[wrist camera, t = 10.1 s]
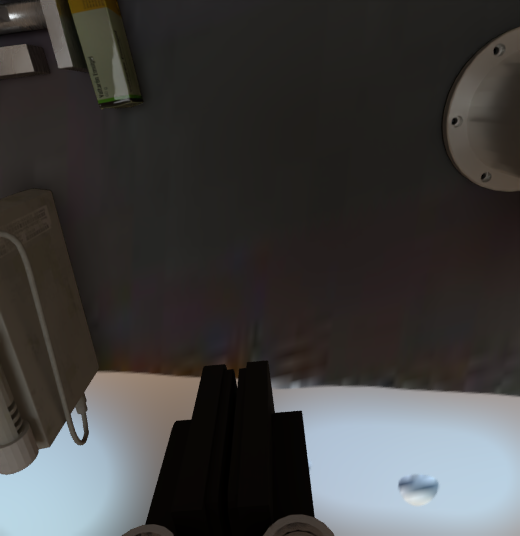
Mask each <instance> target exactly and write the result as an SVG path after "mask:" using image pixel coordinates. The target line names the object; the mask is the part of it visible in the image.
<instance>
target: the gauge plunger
mask: <svg viewBox="0 0 520 536" xmlns="http://www.w3.org/2000/svg"><path fill="white" fill-rule="evenodd" d="M44 28H48V31H49V35H50V39H51V42H52V46H53V49H54V53H55V56H56V60H57V64H58V67H59V69H66V70H73V71H80V72H89V71H88V67H87V64H86V60H85V57H84V54H83V50H82V47H81V43H80V40H79V37H78V33H77V30H76V27H75V23H74V20H73V17H72V13H71V10H70V7H69V3H68V0H27V1H20V2H13V3H6V4H0V35H1V34H8V33H15V32H22V31H29V30H37V29H44Z"/></svg>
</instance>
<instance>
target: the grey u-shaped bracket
mask: <svg viewBox="0 0 520 536" xmlns="http://www.w3.org/2000/svg"><path fill="white" fill-rule="evenodd" d="M47 73H50V71H49V68H48V64H47V61H46V57H45V54H44V50H43V48H42V47H37V46H33V45H28V44H22V45H14V46H7V47H0V80H2V79H10V78H17V77H25V76H32V75H40V74H47Z"/></svg>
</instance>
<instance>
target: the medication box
mask: <svg viewBox="0 0 520 536" xmlns="http://www.w3.org/2000/svg"><path fill="white" fill-rule="evenodd" d="M68 3H69V7H70V10H71V13H72V17H73V20H74V23H75V27H76V30H77V33H78V37H79V40H80V43H81V47H82V50H83V54H84V57H85V60H86V64H87V67H88V71H89V74H90V77H91V81H92V84H93V87H94V91H95V94H96V97H97V100H98V103H99V106H100V108H101V109H104V108H128V107H133V106H136V105H139V104H141V103H143V100H142V96H141V92H140V88H139V84H138V80H137V76H136V72H135V68H134V64H133V60H132V56H131V52H130V48H129V44H128V40H127V37H126V33H125V29H124V25H123V21H122V17H121V14H120V10H119V6H118V2H117V0H68Z"/></svg>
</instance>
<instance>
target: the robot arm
mask: <svg viewBox="0 0 520 536" xmlns="http://www.w3.org/2000/svg"><path fill="white" fill-rule="evenodd" d="M494 48H495V49H496V53H495V54H494V52H493V50H494ZM453 118H455V123H454V124H452V119H453ZM442 128H443V141H444V144H445V148H446V151H447V154H448V156H449V158H450V160H451V162H452V163H453V165H454V167H455V168H456V169H457V170H458V171H459V172H460V173H461V174H462V175H463V176H464V177H465V178H467V179H468V180H470V181H471V182H473V183H475V184H477V185H479V186H482V187H484V188H488V189H491V190H495V191H505V192H513V191H520V27H517V28H514V29H512V30H509V31H507V32H505V33H503V34H501V35H499V36H498V37H496V38H494V39H492V40H491V41H490V42H488V43H487V44H486V45H485V46H483V47H482V48H481V49H480V50H478V51H477V52H476V53H475V55H474V56H473V57H472V58H471V59H470V60H469V61H468V62H467V63H466V64H465V66H464V67H463V69H462V70H461V72H460V73H459V75H458V76H457V78H456V79H455V82H454V84H453V86H452V88H451V90H450V92H449V94H448V98H447V101H446V105H445V108H444V115H443V124H442ZM482 174H483V177H482V178H481V176H482ZM122 536H334V534H333V532H332V531H331V530H330V529H329V528H328V527H327V526H326V525H325V524H324V523H323V522H321V521H319V520H318V519H316V518H315V517H314V508H313V500H312V492H311V484H310V475H309V467H308V458H307V450H306V442H305V433H304V425H303V417H302V411H293V412H280V413H275V411H274V403H273V396H272V387H271V379H270V372H269V364H268V361H257V362H247V368H242V369H239V377H238V387H237V384H236V378H235V373H234V370H233V369H231V370H227V368H226V365H225V364H223V365H212V366H204V368H203V371H202V376H201V380H200V385H199V389H198V393H197V398H196V402H195V407H194V411H193V415H192V420H181V421H176V422H175V423H174V425H173V428H172V431H171V435H170V438H169V442H168V446H167V449H166V452H165V456H164V460H163V463H162V467H161V470H160V474H159V477H158V481H157V485H156V488H155V492H154V495H153V499H152V502H151V506H150V510H149V513H148V517H147V520H146V524H145V525H142V526H139V527H137V528H134V529H131V530H130V531H128V532H127V533H125V534H124V535H122Z"/></svg>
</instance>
